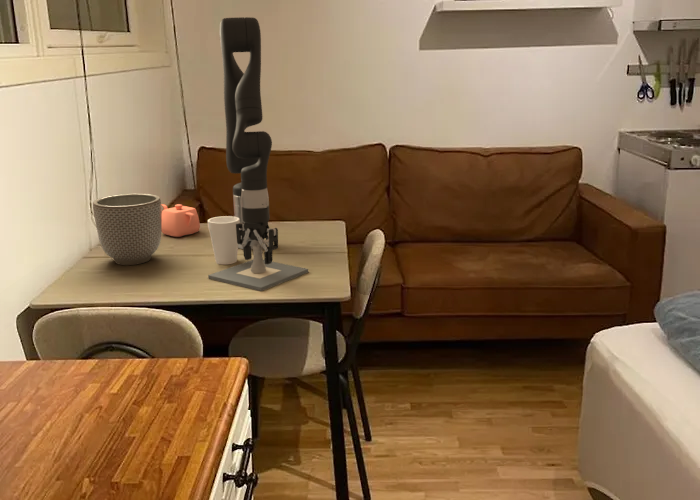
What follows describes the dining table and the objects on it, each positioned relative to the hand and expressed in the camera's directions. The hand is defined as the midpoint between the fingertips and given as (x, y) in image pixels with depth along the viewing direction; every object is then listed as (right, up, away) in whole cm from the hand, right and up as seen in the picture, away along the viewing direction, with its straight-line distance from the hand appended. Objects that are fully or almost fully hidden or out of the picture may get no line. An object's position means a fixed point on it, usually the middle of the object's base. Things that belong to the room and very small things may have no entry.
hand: (258, 261), depth 206 cm
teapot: (-34, +9, +50) cm, 61 cm away
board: (0, -4, +1) cm, 4 cm away
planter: (-41, 0, +18) cm, 44 cm away
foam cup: (-12, 0, +15) cm, 19 cm away
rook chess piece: (0, -3, +1) cm, 3 cm away
